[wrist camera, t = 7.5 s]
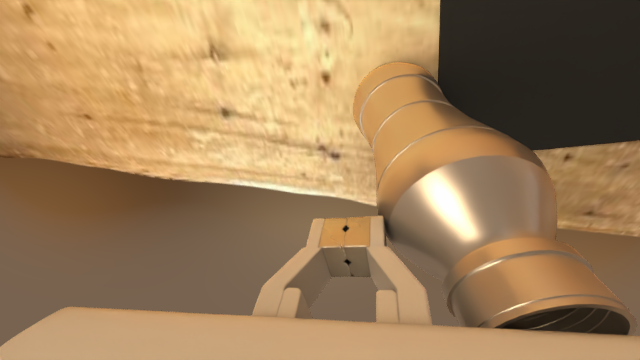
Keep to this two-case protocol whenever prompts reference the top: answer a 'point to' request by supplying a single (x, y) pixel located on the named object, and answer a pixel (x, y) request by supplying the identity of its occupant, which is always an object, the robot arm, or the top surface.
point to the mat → (544, 68)
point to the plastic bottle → (476, 212)
